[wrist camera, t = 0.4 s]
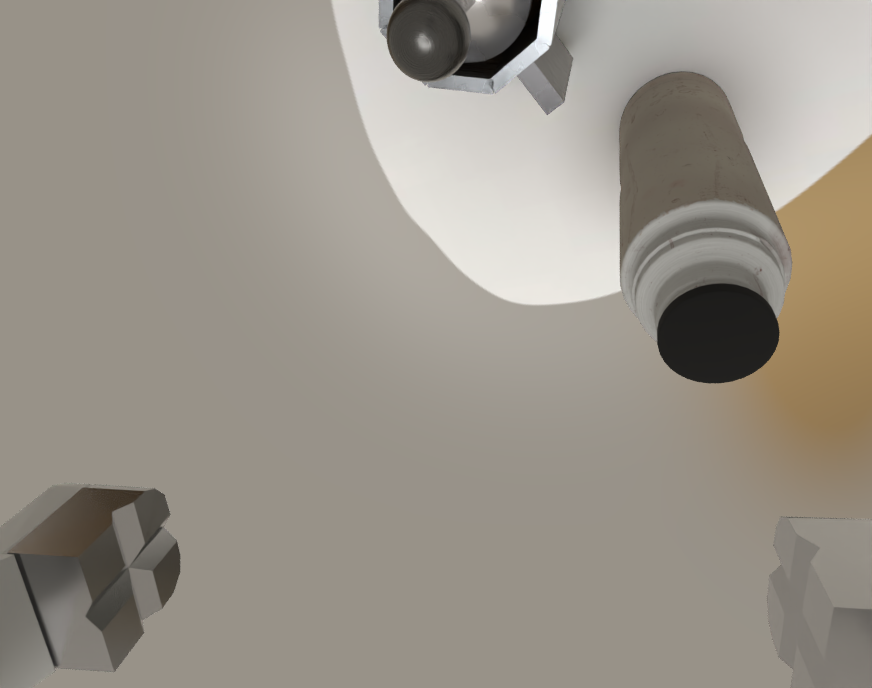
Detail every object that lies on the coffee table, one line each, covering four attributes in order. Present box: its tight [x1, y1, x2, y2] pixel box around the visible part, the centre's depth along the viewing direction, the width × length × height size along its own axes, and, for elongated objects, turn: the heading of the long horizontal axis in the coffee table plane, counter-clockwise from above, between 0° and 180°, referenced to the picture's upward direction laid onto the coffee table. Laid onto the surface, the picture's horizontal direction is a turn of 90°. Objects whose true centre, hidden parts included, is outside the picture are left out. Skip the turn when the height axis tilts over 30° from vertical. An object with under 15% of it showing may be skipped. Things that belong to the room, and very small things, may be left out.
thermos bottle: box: [619, 72, 792, 383], centre depth 40 cm, size 8×8×28 cm
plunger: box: [387, 0, 532, 82], centre depth 32 cm, size 7×7×12 cm
